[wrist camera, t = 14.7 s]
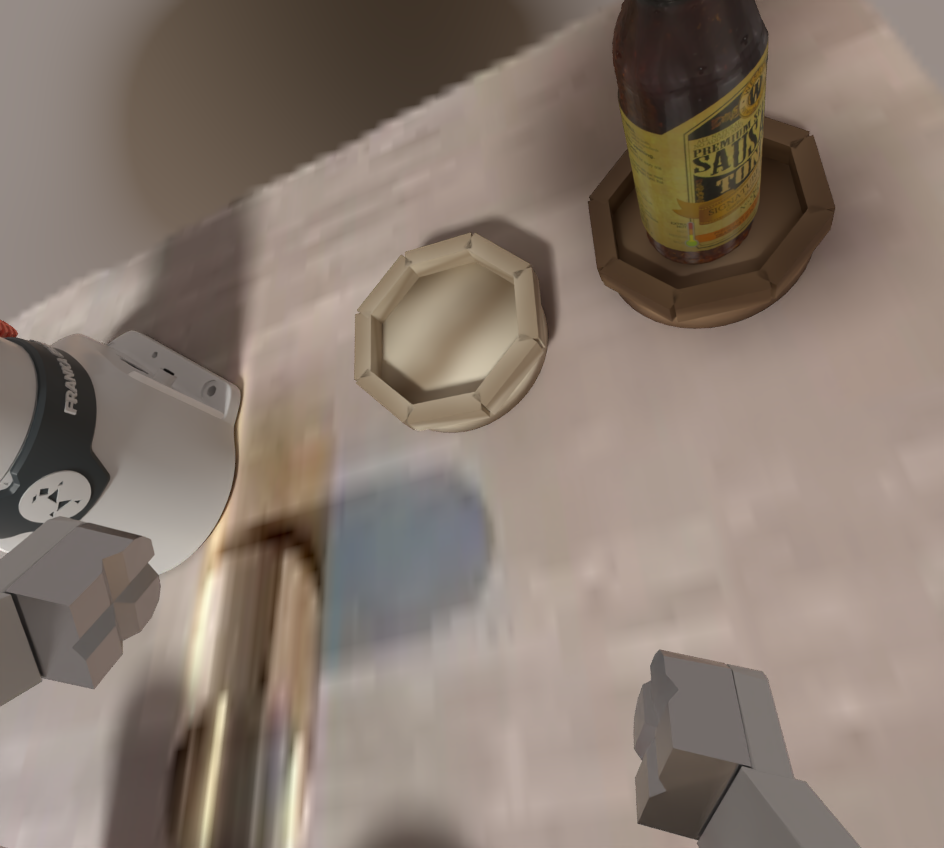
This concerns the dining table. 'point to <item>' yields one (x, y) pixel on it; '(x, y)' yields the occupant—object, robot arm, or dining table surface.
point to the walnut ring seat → (737, 273)
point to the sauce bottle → (693, 120)
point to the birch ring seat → (451, 335)
